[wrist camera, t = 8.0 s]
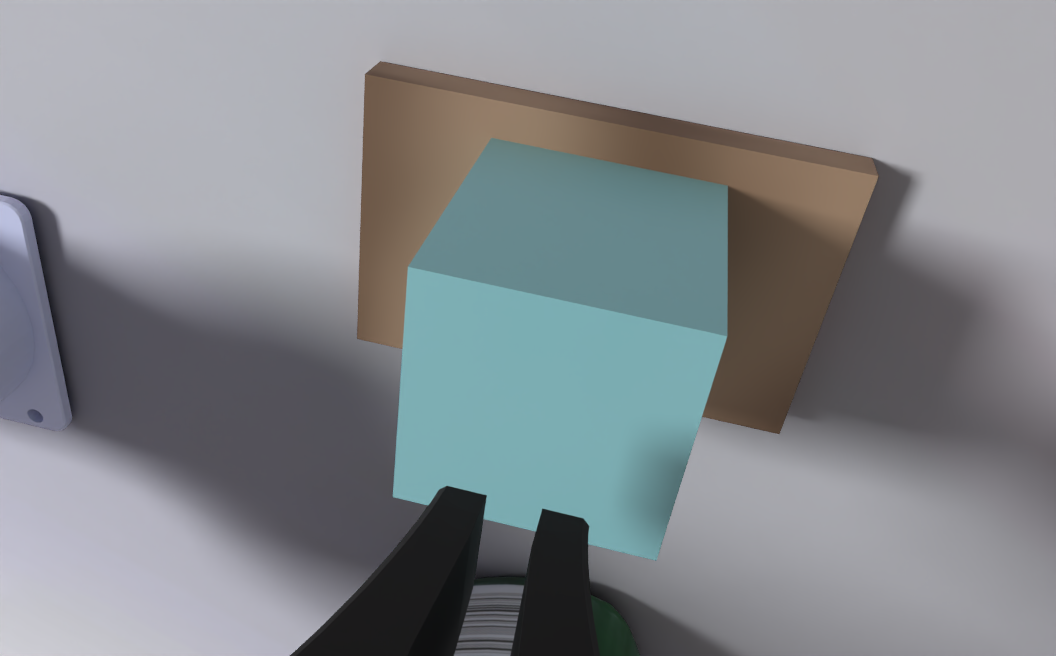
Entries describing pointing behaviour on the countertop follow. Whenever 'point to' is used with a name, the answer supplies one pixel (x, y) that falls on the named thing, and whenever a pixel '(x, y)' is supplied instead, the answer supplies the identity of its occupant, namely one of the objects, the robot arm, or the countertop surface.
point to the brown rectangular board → (635, 140)
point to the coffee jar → (497, 613)
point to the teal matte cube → (563, 341)
